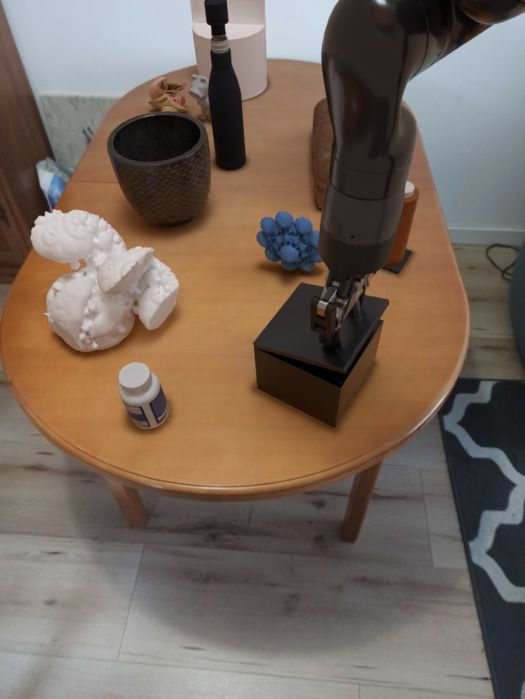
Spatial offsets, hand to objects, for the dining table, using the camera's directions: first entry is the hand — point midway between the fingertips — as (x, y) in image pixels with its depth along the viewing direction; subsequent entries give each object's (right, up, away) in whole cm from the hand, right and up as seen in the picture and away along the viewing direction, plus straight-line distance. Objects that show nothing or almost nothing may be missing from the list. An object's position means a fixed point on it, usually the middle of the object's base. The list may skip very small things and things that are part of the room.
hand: (340, 324), depth 63 cm
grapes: (-5, +10, +25) cm, 27 cm away
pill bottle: (-25, -12, +9) cm, 30 cm away
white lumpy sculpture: (-33, +2, +20) cm, 39 cm away
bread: (+9, +34, +43) cm, 56 cm away
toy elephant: (-32, +54, +59) cm, 87 cm away
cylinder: (-17, +65, +67) cm, 95 cm away
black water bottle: (-16, +37, +46) cm, 61 cm away
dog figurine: (-21, +52, +58) cm, 81 cm away
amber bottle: (+12, +13, +26) cm, 31 cm away
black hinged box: (-2, -7, +11) cm, 13 cm away
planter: (-27, +23, +36) cm, 51 cm away
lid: (-2, 0, +2) cm, 3 cm away
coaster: (+12, +13, +26) cm, 32 cm away
